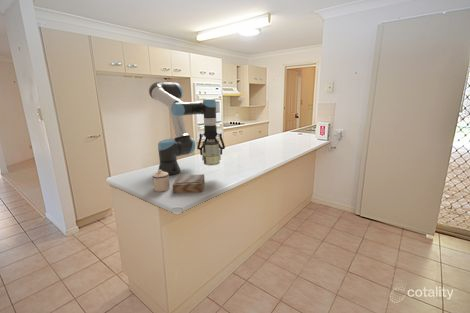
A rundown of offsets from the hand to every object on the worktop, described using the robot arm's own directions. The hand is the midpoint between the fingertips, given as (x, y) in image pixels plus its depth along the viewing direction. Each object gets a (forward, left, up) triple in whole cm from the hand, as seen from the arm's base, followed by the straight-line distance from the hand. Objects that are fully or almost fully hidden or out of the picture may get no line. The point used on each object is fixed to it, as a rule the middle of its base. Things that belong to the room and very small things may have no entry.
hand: (211, 159), depth 146 cm
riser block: (-13, -13, -13) cm, 22 cm away
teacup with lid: (-30, -13, -13) cm, 35 cm away
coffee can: (0, 0, -3) cm, 3 cm away
